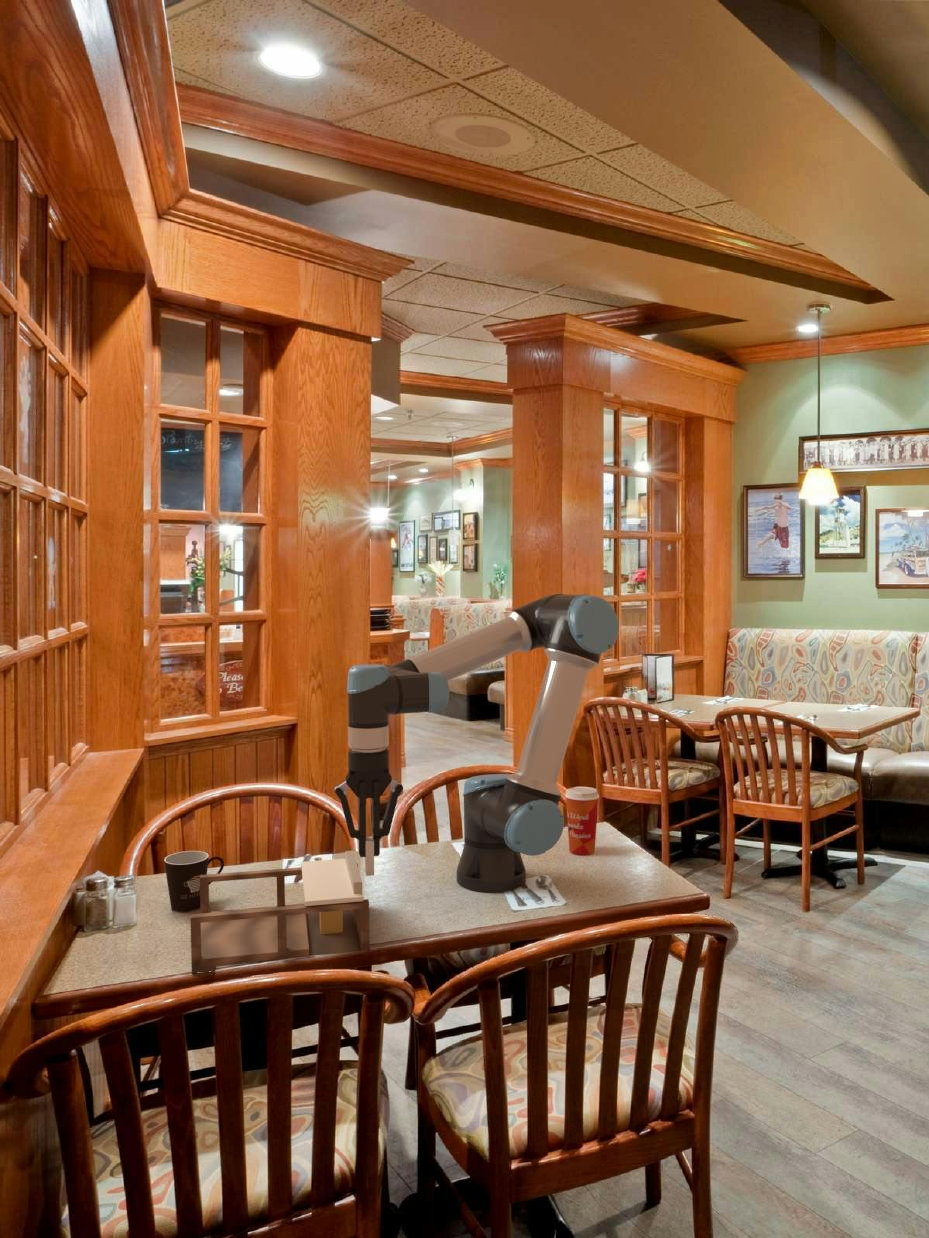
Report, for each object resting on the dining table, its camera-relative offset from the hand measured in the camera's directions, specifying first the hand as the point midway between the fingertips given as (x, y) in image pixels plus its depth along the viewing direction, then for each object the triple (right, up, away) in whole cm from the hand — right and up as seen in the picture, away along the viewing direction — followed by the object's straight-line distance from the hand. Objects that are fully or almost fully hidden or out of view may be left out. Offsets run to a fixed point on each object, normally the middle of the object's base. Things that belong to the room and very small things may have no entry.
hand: (369, 873), depth 166 cm
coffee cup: (+46, -9, +47) cm, 66 cm away
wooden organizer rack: (-16, -12, -3) cm, 20 cm away
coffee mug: (-37, -11, +15) cm, 41 cm away
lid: (-7, -1, -1) cm, 7 cm away
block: (-7, -10, -1) cm, 12 cm away
